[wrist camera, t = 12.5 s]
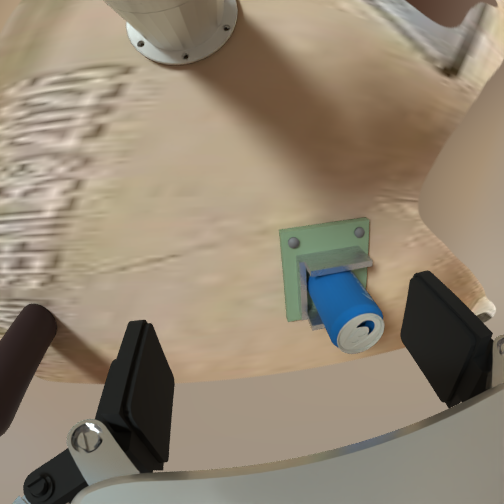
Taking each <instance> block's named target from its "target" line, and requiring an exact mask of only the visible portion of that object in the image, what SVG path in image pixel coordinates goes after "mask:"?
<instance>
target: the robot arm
mask: <svg viewBox="0 0 504 504" xmlns="http://www.w3.org/2000/svg"><path fill="white" fill-rule="evenodd" d="M103 1H104V2H105V3H106V4H107V5H109V6H110V7H111V8H112V9H113V10H114V11H115V12H116V13H118V14H119V15H120V16H121V17H122V18H123V19H124V20H125V21H126V30H127V35H128V37H129V39H130V41H131V44H132V45H133V46H134V47H135V48H136V50H137V51H138V52H140V53H141V54H142V55H144V56H145V57H147V58H148V59H150V60H153V61H155V62H158V63H162V64H167V65H182V64H189V63H193V62H196V61H199V60H202V59H204V58H206V57H208V56H210V55H211V54H213V53H214V52H216V51H217V50H219V49H220V48H221V47H222V46H223V45H224V44H225V43H226V41H227V40H228V39H229V37H230V36H231V34H232V32H233V30H234V27H235V25H236V21H237V12H238V9H237V3H236V0H103ZM224 28H228V31H224ZM141 44H144V46H143V47H141ZM185 56H189V57H188V59H184V57H185ZM492 334H493V333H492V332H491V331H490V330H489V329H488V328H487V327H486V326H485V325H484V323H483V322H482V321H481V320H480V319H479V318H478V317H477V316H476V315H475V314H474V313H473V312H472V311H471V310H470V309H469V308H468V307H467V306H466V305H465V304H464V303H463V302H462V301H461V300H460V299H459V298H458V297H457V296H456V295H455V294H454V293H453V292H452V291H451V290H450V289H448V288H447V287H446V286H445V285H444V284H443V283H442V282H441V281H440V280H439V279H438V278H437V277H436V276H435V275H434V274H432V273H431V272H430V271H423V272H419V273H416V274H414V276H413V278H411V280H410V284H409V290H408V296H407V302H406V308H405V313H404V319H403V324H402V329H401V340H402V342H403V344H404V345H405V347H406V348H407V349H408V351H409V352H410V354H411V355H412V357H413V358H414V360H415V361H416V363H417V364H418V366H419V368H420V369H421V371H422V372H423V373H424V375H425V377H426V378H427V380H428V381H429V383H430V384H431V386H432V388H433V389H434V391H435V392H436V394H437V396H438V397H439V399H440V400H441V401H442V402H445V403H446V405H447V406H448V408H449V409H447V410H445V411H443V412H441V413H438V414H436V415H434V416H431V417H429V418H427V419H424V420H422V421H419V422H417V423H414V424H412V425H409V426H406V427H404V428H401V429H398V430H395V431H392V432H390V433H387V434H384V435H381V436H378V437H375V438H372V439H369V440H365V441H362V442H359V443H356V444H352V445H348V446H345V447H341V448H337V449H334V450H329V451H325V452H321V453H317V454H313V455H308V456H303V457H298V458H293V459H288V460H283V461H277V462H271V463H264V464H258V465H250V466H242V467H233V468H222V469H211V470H198V471H179V472H158V473H153V470H163V464H164V462H167V461H168V457H169V443H170V429H171V417H172V406H173V395H174V377H173V374H172V372H171V369H170V367H169V365H168V362H167V360H166V357H165V355H164V353H163V350H162V348H161V345H160V343H159V340H158V337H157V335H156V332H155V330H154V327H153V325H152V324H151V323H147V321H146V320H138V321H130V322H129V323H128V326H127V329H126V332H125V335H124V338H123V341H122V344H121V347H120V350H119V353H118V356H117V359H115V360H113V361H112V364H111V366H110V369H109V372H108V376H107V379H106V382H105V385H104V389H103V392H102V396H101V399H100V403H99V406H98V410H97V413H96V417H95V419H87V420H83V421H80V422H78V423H77V424H76V425H75V426H73V427H72V429H71V430H70V432H69V433H68V436H67V446H68V448H67V449H66V450H65V451H63V452H62V453H60V454H59V455H57V456H56V457H54V458H53V459H51V460H50V461H48V462H47V463H45V464H44V465H42V466H41V467H39V468H38V469H36V470H35V471H33V472H32V473H31V474H30V475H28V477H27V478H26V480H25V482H24V486H23V488H24V489H23V490H24V496H23V497H20V496H18V498H16V500H15V501H14V502H13V503H12V504H504V335H500V336H498V337H496V338H495V340H494V341H493V340H492V339H491V337H492ZM460 402H462V403H460ZM459 403H460V404H459ZM457 404H458V405H457ZM455 405H456V406H455ZM453 406H454V407H453ZM451 407H452V408H451Z"/></svg>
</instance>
